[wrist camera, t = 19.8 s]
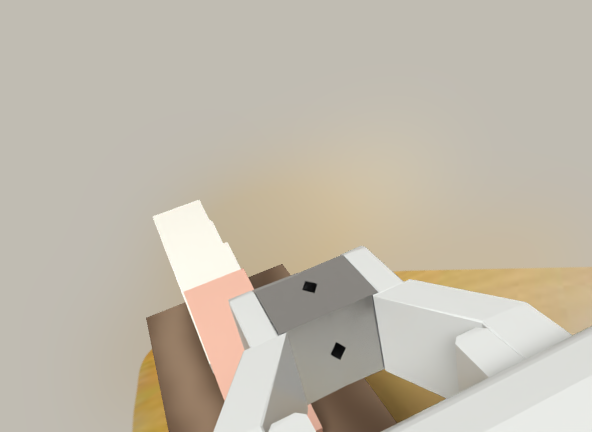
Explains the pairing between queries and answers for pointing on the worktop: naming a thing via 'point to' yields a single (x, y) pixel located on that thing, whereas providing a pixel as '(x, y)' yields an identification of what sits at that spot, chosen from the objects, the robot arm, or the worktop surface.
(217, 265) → the domino
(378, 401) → the domino stand
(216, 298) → the domino
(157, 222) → the domino
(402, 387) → the worktop surface
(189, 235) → the domino
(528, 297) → the worktop surface
